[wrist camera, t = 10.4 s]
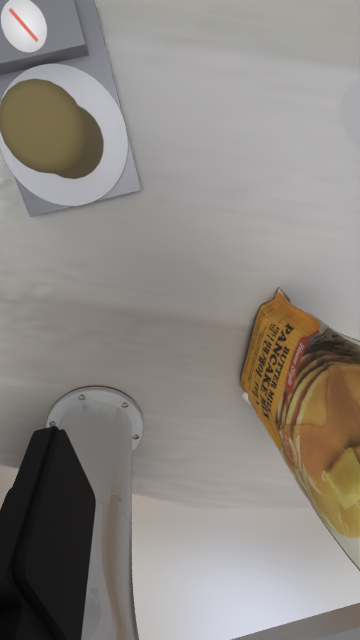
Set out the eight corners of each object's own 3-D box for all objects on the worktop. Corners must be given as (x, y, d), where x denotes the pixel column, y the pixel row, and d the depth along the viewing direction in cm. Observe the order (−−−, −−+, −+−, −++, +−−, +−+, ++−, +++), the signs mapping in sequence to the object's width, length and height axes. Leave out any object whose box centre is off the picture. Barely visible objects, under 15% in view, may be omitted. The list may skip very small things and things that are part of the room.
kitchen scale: (140, 189, 35) (142, 191, 31) (36, 214, 35) (21, 220, 30) (95, 6, 29) (88, -27, 24) (-32, 34, 29) (-65, 7, 24)
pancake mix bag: (314, 280, 42) (597, 444, 17) (274, 407, 49) (429, 660, 24) (263, 274, 41) (483, 440, 15) (230, 405, 48) (342, 669, 22)
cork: (69, 193, 32) (41, 201, 22) (17, 135, 29) (-43, 114, 19) (118, 148, 31) (112, 134, 21) (67, 84, 28) (33, 34, 18)
